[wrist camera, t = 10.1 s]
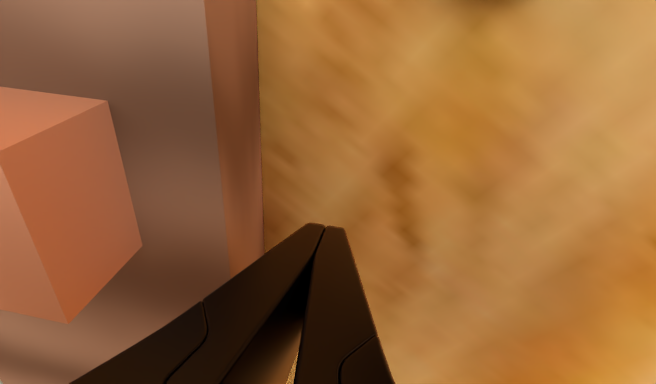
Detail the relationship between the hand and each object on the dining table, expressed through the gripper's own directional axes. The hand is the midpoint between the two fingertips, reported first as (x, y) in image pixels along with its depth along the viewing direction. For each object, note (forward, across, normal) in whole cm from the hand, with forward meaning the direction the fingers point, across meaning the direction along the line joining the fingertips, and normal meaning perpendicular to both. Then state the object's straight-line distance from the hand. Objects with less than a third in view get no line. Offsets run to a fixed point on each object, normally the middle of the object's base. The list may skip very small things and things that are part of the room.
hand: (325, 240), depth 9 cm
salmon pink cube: (+1, +8, 0) cm, 8 cm away
